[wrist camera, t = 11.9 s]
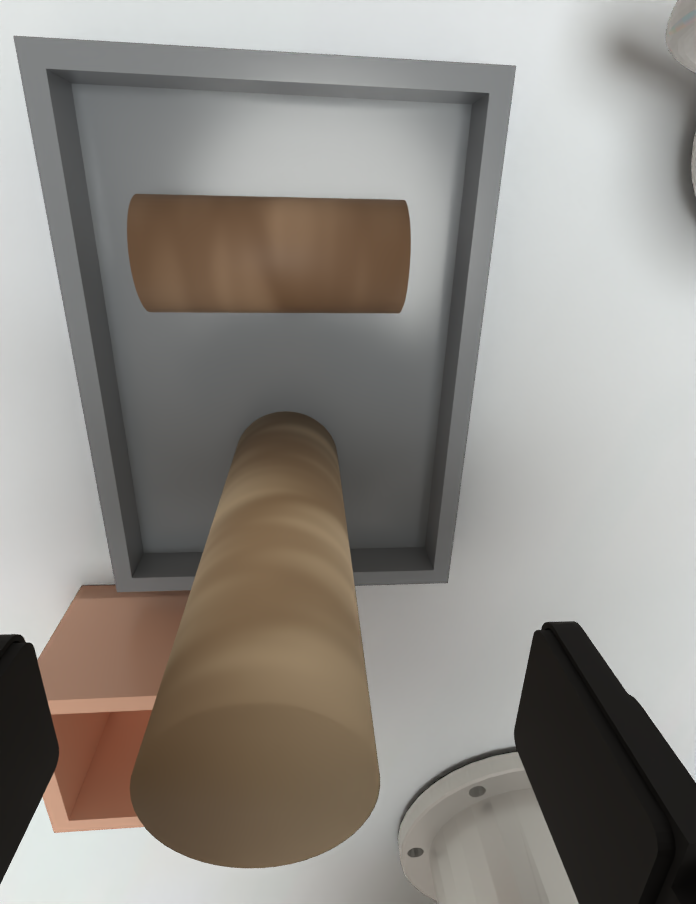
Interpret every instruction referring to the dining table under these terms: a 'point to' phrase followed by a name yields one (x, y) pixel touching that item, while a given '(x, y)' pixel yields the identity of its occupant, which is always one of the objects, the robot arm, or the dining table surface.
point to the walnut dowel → (268, 254)
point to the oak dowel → (265, 671)
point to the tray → (269, 334)
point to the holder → (104, 699)
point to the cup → (684, 47)
